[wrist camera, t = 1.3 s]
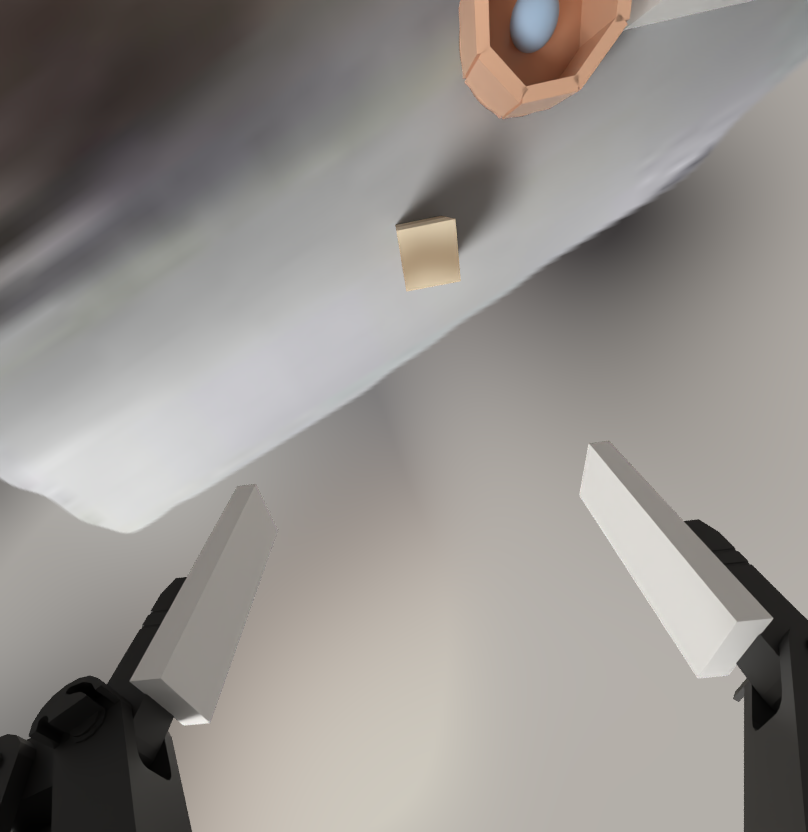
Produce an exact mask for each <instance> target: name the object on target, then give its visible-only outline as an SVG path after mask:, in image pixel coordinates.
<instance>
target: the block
mask: <svg viewBox="0 0 808 832" xmlns="http://www.w3.org/2000/svg"><path fill="white" fill-rule="evenodd" d="M396 231H397V237H398V243H399V249H400V255H401V261H402V267H403V273H404V279H405V285H406V291H412V290H417V289H422V288H427V287H433V286H438V285H443V284H449V283H454V282H459V281H461V279H460V268H459V256H458V244H457V232H456V220H455V219H453V218H449V217H444V216H438V217H433V218H428V219H423V220H418V221H413V222H408V223H403V224H398V225H396Z"/></svg>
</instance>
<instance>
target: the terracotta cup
mask: <svg viewBox="0 0 808 832" xmlns="http://www.w3.org/2000/svg"><path fill="white" fill-rule="evenodd" d="M516 2H517V0H461V1H460V6H459V22H460V31H459V51H460V60H461V64H462V70H463V79H464V78H465V79H466V80H465V83H466V84H467V85H468V86H469V88H470V90H471V91H472V93H473V94H474V96H475V97H476V99H477V100H478V101H479V102H480V103H481V104H482V105H483V106H484V107H485V108H486V109H488V110H490V111H491V112H493V113H495V114H496V115H497V116H498V117H499V118H501V117H502V119H506V118H511V117H521V116H525V115H529V114H531V113H534V112H538V111H543V110H548V109H550V108H552V107H553V106H555V105H557V104H558V103H560V102H562V101H563V100H565V99H566V98H568V97H570V96H571V95H573V94H575V93H576V92H578V91H579V90H581V89H582V87H583V86H584V84H585V83H586V82H587V80H588V79H589V77H590V76H591V75H592V73H593V72H594V70H595V69H596V68H597V66H598V65H599V64H600V62H601V61H602V59H603V58H604V57H605V55H606V54H607V52H608V51H609V50H610V48H611V47H612V45H613V44H614V43H615V41H616V40H617V38H618V37H619V36H620V34H621V33H622V31H623V30H624V29H625V27H626V26H627V22H626V21H628V20H629V19H630V12H631V4H632V0H559V17H558V22H557V25H556V28H555V30H554V32H553V34H552V36H551V38H550V39H549V41H548V42H547V43H546V44H545V45H544V46H543V47H542V48H541V49H539V50H538V51H536V52H533V53H523V52H521V51H519V50H518V49H517V48H516V47H515V45H514V44H513V42H512V39H511V35H510V19H511V15H512V11H513V8H514V6H515V4H516Z"/></svg>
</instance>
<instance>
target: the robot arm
mask: <svg viewBox="0 0 808 832" xmlns="http://www.w3.org/2000/svg"><path fill="white" fill-rule="evenodd" d="M579 496H580V497H581V499H582V500H583V502H584V503H585V505H586V506H587V508H588V510H589V511H590V513H591V514H592V516H593V517H594V519H595V520H596V522H597V523H598V525H599V527H600V528H601V530H602V531H603V533H604V534H605V536H606V537H607V539H608V541H609V542H610V544H611V545H612V547H613V548H614V550H615V551H616V553H617V554H618V556H619V557H620V559H621V561H622V562H623V564H624V565H625V567H626V568H627V570H628V571H629V573H630V574H631V576H632V578H633V579H634V581H635V582H636V584H637V585H638V587H639V588H640V590H641V592H642V593H643V594H644V596H645V598H646V599H647V601H648V602H649V604H650V605H651V607H652V608H653V610H654V612H655V613H656V615H657V616H658V618H659V619H660V621H661V622H662V624H663V625H664V627H665V629H666V630H667V632H668V633H669V635H670V636H671V638H672V639H673V641H674V643H675V644H676V646H677V647H678V649H679V650H680V652H681V653H682V655H683V656H684V658H685V660H686V661H687V663H688V664H689V666H690V667H691V669H692V670H693V672H694V673H695V675H696V676H697V678H707V677H718V676H728V675H729V674H730V672H731V671H732V670H733V669H734V667H735V666H736V665H738V667H739V668H740V669H741V670H742V672H743V673H744V675H745V676H746V677H747V679H746V680H745V681H744V682H743V683H742V684H741V686H740V687H739V688H738V689H737V690H736V691H735V694H734V698H733V699H734V700H736V701H738V702H739V701H740V700H741V699H742V698H743V697H744V832H808V620H807V619H806V618H805V617H804V616H803V615H802V614H801V613H800V612H799V611H798V610H797V609H796V608H795V607H794V606H793V605H792V604H791V603H790V602H789V601H788V600H787V599H786V598H785V597H784V596H783V595H782V594H781V593H780V592H779V591H778V590H776V588H775V587H773V585H772V584H770V582H769V581H768V580H766V578H764V576H763V575H762V574H761V573H759V571H757V569H756V568H754V566H752V565H750V564H749V563H748V561H747V559H746V558H745V557H744V556H743V555H741V554H740V553H739V552H738V551H736V550H735V548H734V547H733V546H732V545H731V544H730V543H729V542H728V541H727V540H726V539H725V538H724V537H723V536H722V535H721V534H720V533H719V532H718V531H716V530H715V529H713V528H712V527H710V526H708V525H707V524H705V523H704V522H702V521H700V520H690V521H683V520H682V519H681V518H680V517H679V516H678V515H677V514H676V512H675V511H674V510H673V509H672V508H671V507H670V506H669V505H668V504H667V503H666V502H665V501H664V499H662V497H661V496H660V495H659V494H658V493H657V492H656V491H655V490H654V489H653V488H652V487H651V486H650V484H649V483H648V482H647V481H646V480H645V479H644V478H643V477H642V476H641V475H640V474H639V473H638V471H636V469H635V468H634V467H633V466H632V465H631V464H630V463H629V462H628V461H627V459H626V458H625V457H624V456H623V455H622V454H621V453H620V452H619V451H618V450H617V449H616V448H615V447H614V445H613V444H612V443H611V442H610V441H603V442H595V443H589V445H588V451H587V456H586V462H585V467H584V473H583V478H582V483H581V489H580V495H579ZM277 532H278V529H277V527H276V525H275V523H274V521H273V519H272V516H271V514H270V512H269V510H268V509H267V506H266V504H265V502H264V500H263V498H262V496H261V493H260V491H259V489H258V487H257V485H256V484H251V485H242V486H237V488H236V489H235V491H234V493H233V495H232V497H231V499H230V500H229V502H228V504H227V506H226V508H225V509H224V511H223V513H222V515H221V517H220V518H219V520H218V522H217V524H216V526H215V527H214V529H213V531H212V533H211V535H210V536H209V538H208V540H207V542H206V544H205V546H204V547H203V549H202V551H201V553H200V555H199V557H198V558H197V560H196V562H195V564H194V565H193V567H192V569H191V571H190V573H189V575H188V577H184V578H176V579H175V580H174V581H173V582H172V583H171V584H170V585H169V586H168V587H167V588H166V589H165V590H164V591H163V592H162V594H161V595H160V597H159V598H158V600H157V601H156V603H155V605H154V606H153V608H152V610H151V614H150V615H148V616H147V618H146V620H145V622H144V623H143V625H142V629H140V630H139V632H138V633H137V635H136V637H135V638H134V640H133V642H132V643H131V645H130V647H129V648H128V650H127V652H126V653H125V655H124V657H123V658H122V660H121V662H120V663H119V665H118V667H117V668H116V670H115V672H114V673H113V675H112V677H111V679H110V680H109V682H108V684H107V685H106V684H105V683H104V682H102V681H101V680H100V679H98V678H96V677H93V676H87V677H82V678H79V679H77V680H75V681H73V682H72V683H70V684H68V685H66V686H65V687H64V688H62V689H61V690H60V691H59V692H57V693H56V694H55V695H54V696H53V697H52V698H51V699H50V700H49V701H48V702H47V703H46V704H45V706H44V707H43V708H42V709H41V711H40V712H39V714H38V715H37V717H36V718H35V720H34V722H33V723H32V726H31V730H30V733H29V737H31V738H30V739H28V740H25V739H23V738H21V737H19V736H17V735H10V734H7V735H4V736H1V737H0V832H192V830H191V825H190V820H189V816H188V811H187V807H186V802H185V797H184V792H183V788H182V784H181V779H180V774H179V769H178V765H177V760H176V755H175V751H174V746H173V741H172V737H171V736H170V734H169V732H168V729H169V727H170V724H171V722H172V720H173V717H174V718H175V719H176V720H178V721H179V722H180V723H181V724H182V725H193V724H204V723H210V722H211V719H212V716H213V713H214V710H215V708H216V705H217V702H218V699H219V696H220V694H221V691H222V688H223V685H224V682H225V679H226V677H227V674H228V671H229V668H230V665H231V662H232V659H233V657H234V654H235V651H236V648H237V645H238V643H239V640H240V637H241V634H242V631H243V628H244V626H245V623H246V620H247V617H248V614H249V611H250V608H251V606H252V603H253V600H254V597H255V594H256V591H257V588H258V586H259V583H260V580H261V577H262V574H263V571H264V569H265V566H266V563H267V560H268V557H269V554H270V551H271V549H272V546H273V543H274V540H275V537H276V534H277Z"/></svg>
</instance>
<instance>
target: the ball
mask: <svg viewBox="0 0 808 832" xmlns="http://www.w3.org/2000/svg"><path fill="white" fill-rule="evenodd" d="M558 17H559V0H517V2H516V4H515V6H514V8H513V11H512V15H511V19H510V35H511V39H512V42H513V44H514V45H515V47H516V48H517V49H518V50H519V51H521V52H523V53H533V52H536V51H538V50H539V49H541V48H542V47H543V46H544V45H545V44H546V43H547V42H548V41H549V39H550V38H551V36H552V34H553V32H554V30H555V28H556V25H557V22H558Z"/></svg>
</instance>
